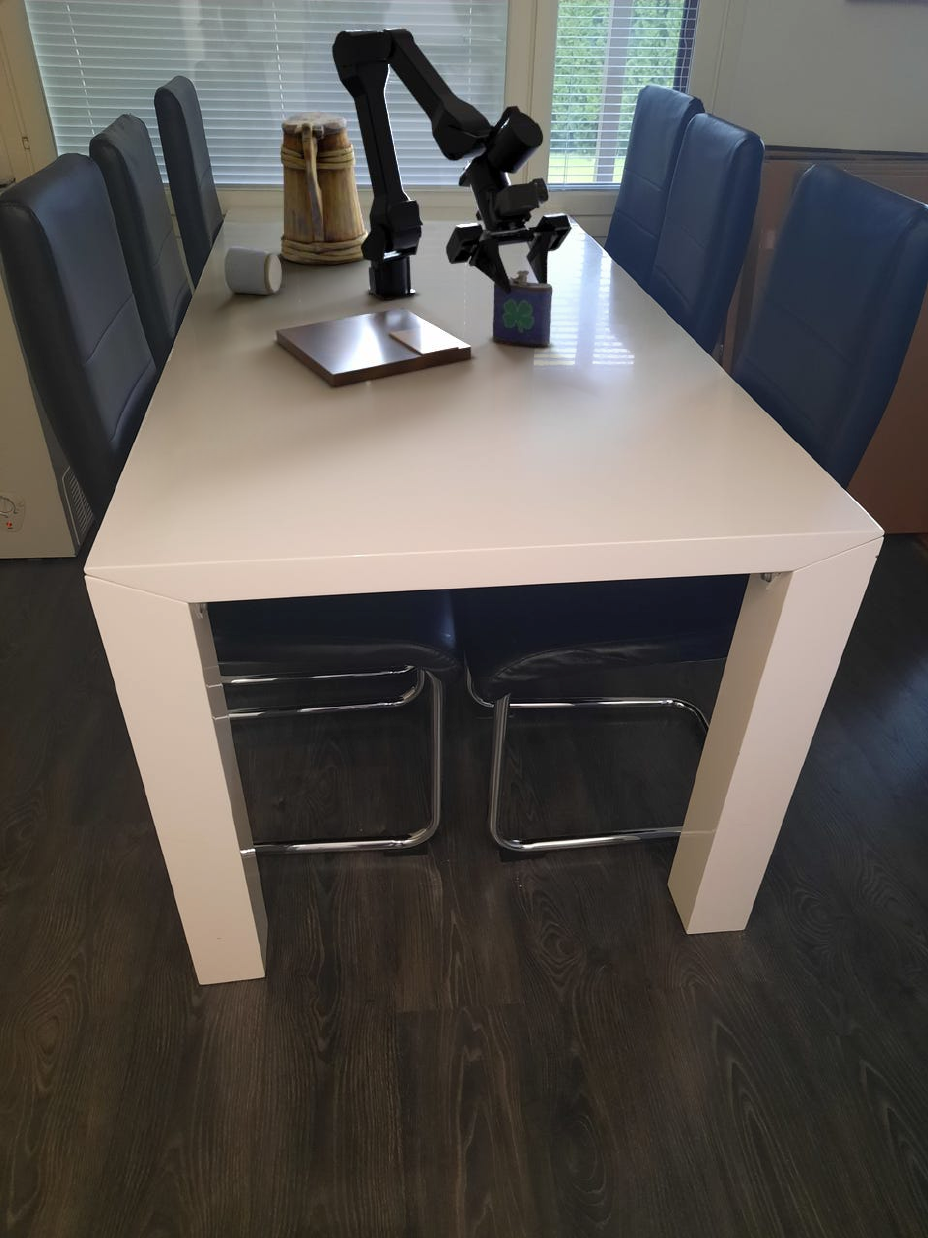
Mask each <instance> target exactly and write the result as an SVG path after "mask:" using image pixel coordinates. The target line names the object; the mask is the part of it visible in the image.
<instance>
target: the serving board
mask: <svg viewBox="0 0 928 1238" xmlns="http://www.w3.org/2000/svg"><path fill="white" fill-rule="evenodd" d="M275 335H276V341H277V342H276V343H279V344H280V345H281V346H282V347H283V348H285V349H286V350H287V351H288V352H289V353H291V354H292V355H293V356H295V357H296V359H298V360H299V361H300V362H302V363H303V364H305V365H306V366H307V367H308V368H309V369H310V370H312V371H314V373H316V374H317V375H318V376H320V378H322V379H324V380H325V381H326V382H327V383H329V384H330V386H332V387H333V388H336V387H341V386H345V385H351V384H355V383H360V382H364V381H371V380H375V379H378V378H383V377H388V376H393V375H398V374H403V373H408V372H413V371H417V370H421V369H426V368H431V367H436V366H441V365H446V364H450V363H456V362H459V361H464V360H469V359H472V346H471V345H469V344H468V343H465V342H464V341H462V340H460V339H458V338H456V337H455V336H453V335H451V334H450V333H447V332H446V331H444V330H443V329H442V328H441V329H440V328H439V327H437V326H436V325H433V324H432V323H430V322H428V321H426V320H424V319H423V318H421V317H419V316H417V315H416V314H414V313H412V312H410V311H409V310H407V309H405V308H404V307H401V308H394V309H389V310H383V311H377V312H372V313H366V314H360V315H355V316H349V317H344V318H337V319H331V320H327V321H320V322H315V323H314V322H313V323H309V324H303V325H298V326H293V327H287V328H280V329H276V330H275Z"/></svg>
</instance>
